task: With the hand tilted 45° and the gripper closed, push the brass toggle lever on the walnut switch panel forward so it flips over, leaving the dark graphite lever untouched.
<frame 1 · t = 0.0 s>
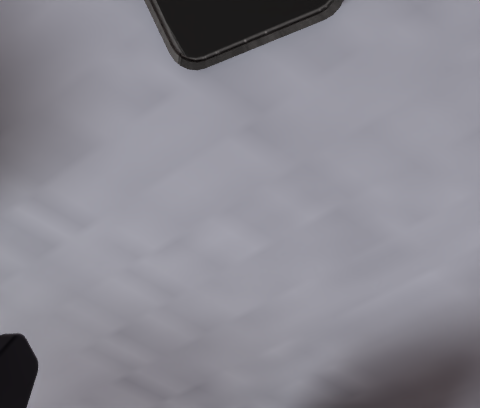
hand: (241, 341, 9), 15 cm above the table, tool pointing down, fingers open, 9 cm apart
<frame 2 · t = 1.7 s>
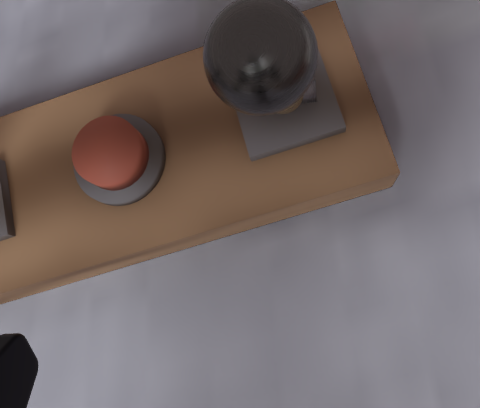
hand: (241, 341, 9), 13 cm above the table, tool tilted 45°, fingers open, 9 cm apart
switch panel: (141, 175, 25), on the table
brass lever: (273, 78, 15), point 9 cm above the table, hinge at -20.0°
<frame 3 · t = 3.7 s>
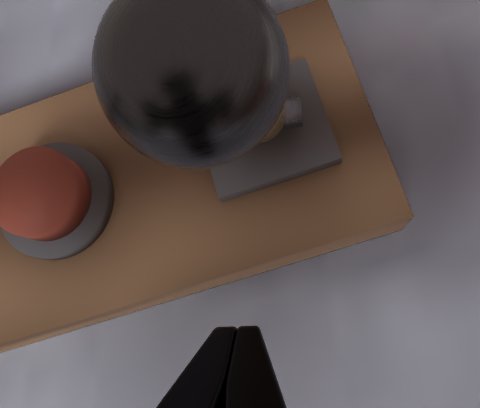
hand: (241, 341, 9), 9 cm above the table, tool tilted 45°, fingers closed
switch panel: (91, 215, 20), on the table
brass lever: (236, 100, 11), point 9 cm above the table, hinge at -20.0°
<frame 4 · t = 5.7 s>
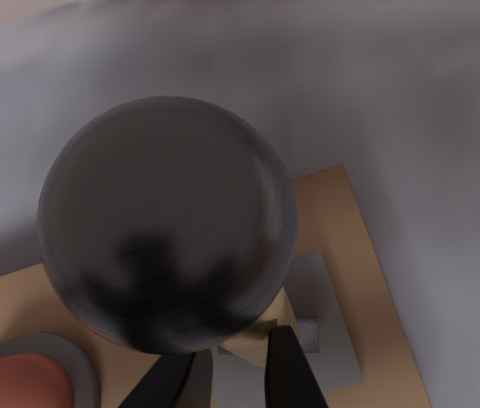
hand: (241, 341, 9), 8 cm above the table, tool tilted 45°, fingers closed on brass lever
switch panel: (77, 386, 18), on the table
brass lever: (237, 299, 9), point 9 cm above the table, hinge at 12.0°, touching gripper
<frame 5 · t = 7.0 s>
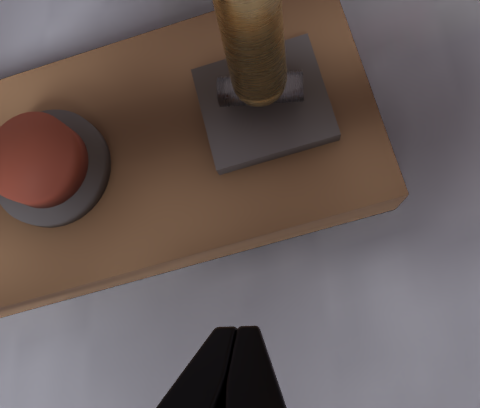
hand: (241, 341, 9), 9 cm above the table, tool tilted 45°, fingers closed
switch panel: (86, 186, 20), on the table
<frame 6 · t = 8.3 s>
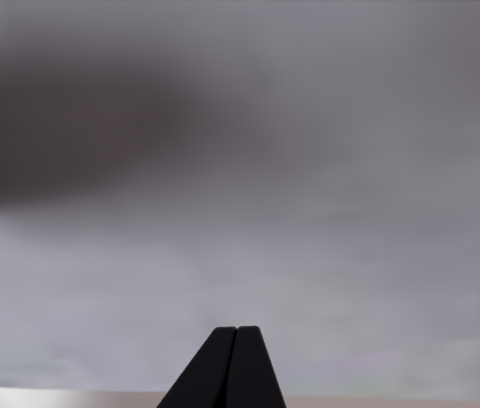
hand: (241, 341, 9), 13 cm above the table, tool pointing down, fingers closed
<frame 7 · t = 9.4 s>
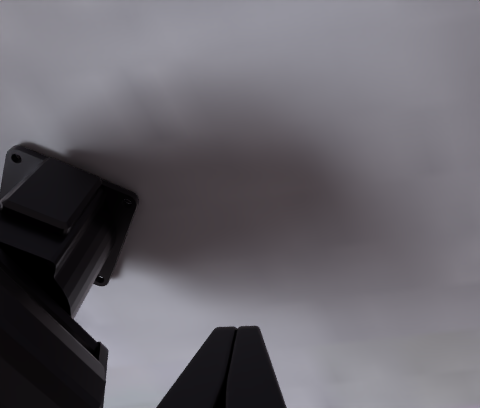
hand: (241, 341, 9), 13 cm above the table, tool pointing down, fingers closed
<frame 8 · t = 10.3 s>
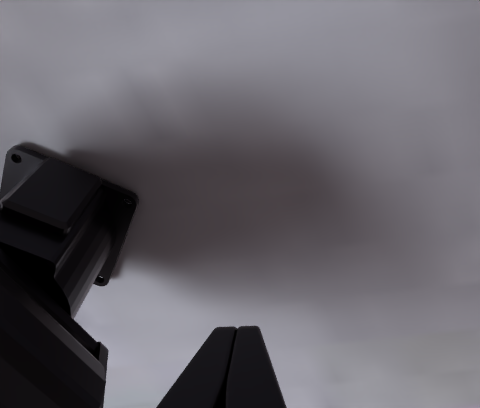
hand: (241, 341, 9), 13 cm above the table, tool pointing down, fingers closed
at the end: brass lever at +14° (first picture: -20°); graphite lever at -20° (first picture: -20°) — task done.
